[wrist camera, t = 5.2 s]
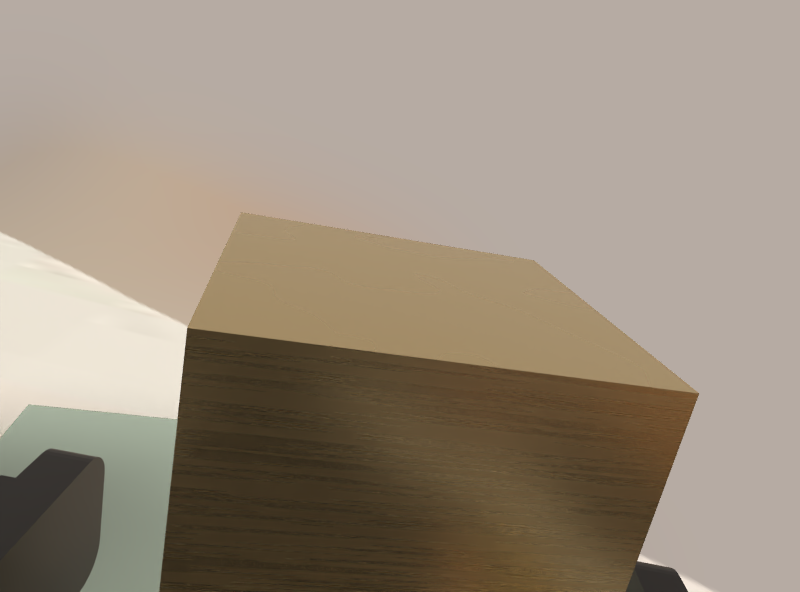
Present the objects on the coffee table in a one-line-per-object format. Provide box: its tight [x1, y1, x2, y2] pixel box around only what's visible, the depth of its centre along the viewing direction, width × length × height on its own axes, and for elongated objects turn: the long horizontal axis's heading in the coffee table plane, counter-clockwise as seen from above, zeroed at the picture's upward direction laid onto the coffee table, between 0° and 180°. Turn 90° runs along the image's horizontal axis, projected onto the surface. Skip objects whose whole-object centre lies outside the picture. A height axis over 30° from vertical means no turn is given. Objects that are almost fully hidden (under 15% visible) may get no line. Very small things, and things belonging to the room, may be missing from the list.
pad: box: [0, 405, 178, 592], centre depth 22 cm, size 12×12×1 cm
